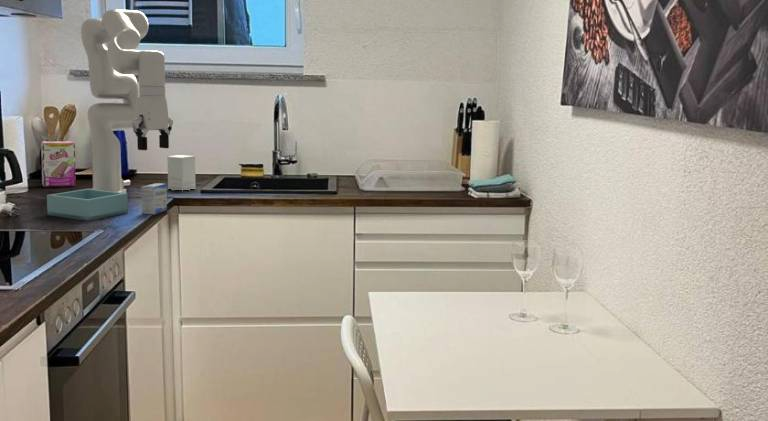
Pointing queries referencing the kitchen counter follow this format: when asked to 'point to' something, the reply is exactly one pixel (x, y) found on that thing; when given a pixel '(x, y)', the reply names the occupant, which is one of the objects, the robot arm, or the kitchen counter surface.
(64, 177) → the candy bar box
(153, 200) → the medicine box
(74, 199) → the collection bin
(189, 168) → the supplement box
